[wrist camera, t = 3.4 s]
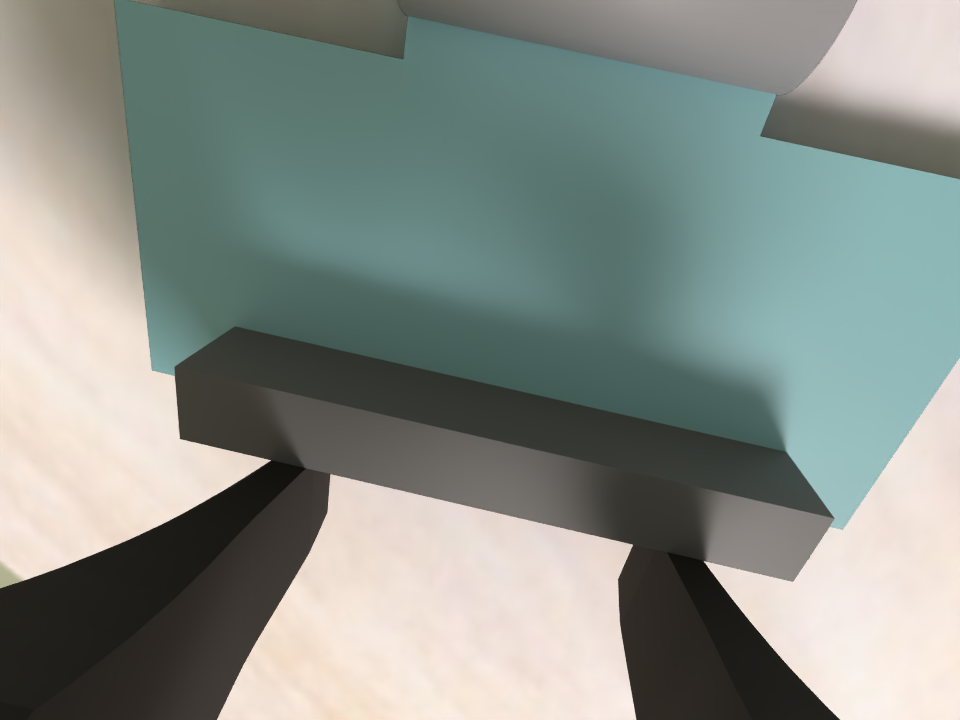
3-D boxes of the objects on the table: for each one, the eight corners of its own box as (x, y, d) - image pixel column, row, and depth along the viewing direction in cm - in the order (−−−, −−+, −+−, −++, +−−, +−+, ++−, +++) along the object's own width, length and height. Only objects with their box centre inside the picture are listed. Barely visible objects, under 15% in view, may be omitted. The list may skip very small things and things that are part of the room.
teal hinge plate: (1141, -6, 8) (1451, -71, 5) (821, 499, 12) (898, 606, 10) (138, -213, 8) (-61, -374, 6) (179, 352, 13) (81, 415, 10)
